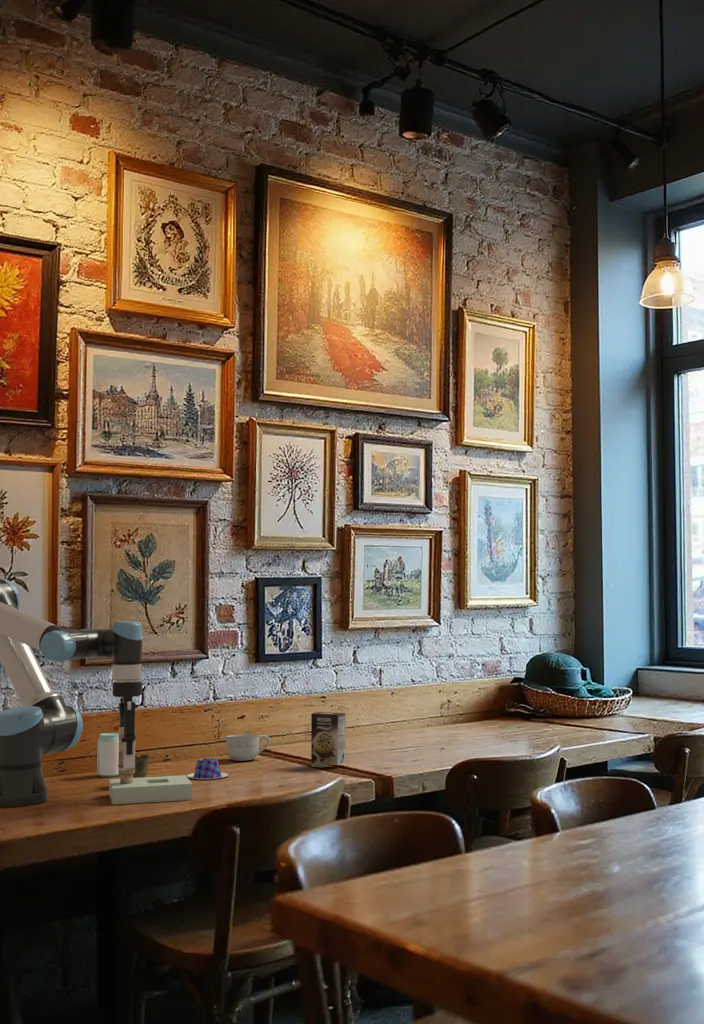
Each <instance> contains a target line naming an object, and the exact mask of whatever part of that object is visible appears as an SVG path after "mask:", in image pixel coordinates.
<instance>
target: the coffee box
mask: <svg viewBox="0 0 704 1024" xmlns="http://www.w3.org/2000/svg"><path fill="white" fill-rule="evenodd" d="M310 720H311V721H310V722H311V723H310V724H311V726H310V727H311V731H310V732H311V734H310V735H311V737H310V738H311V739H310V740H311V741H310V743H311V745H310V746H311V747H310V748H311V749H310V752H311V753H310V755H311V757H310V758H311V761H310V762H311V765H310V766H311V768H324V766H327V765H339V764H341V763H344V762H345V763H346V713H345V712H329V711H328V712H327V711H326V712H325V711H316V712H312V713H311V718H310Z"/></svg>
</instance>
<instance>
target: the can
mask: <svg viewBox="0 0 704 1024" xmlns="http://www.w3.org/2000/svg"><path fill="white" fill-rule="evenodd" d="M96 749H97V750H96V751H97V753H96V754H97V756H96V757H97V759H96V764H97V765H96V774H97V775H98V776H99V777H100V778H101V777H102V778H114V777H118V776H120V774H118V760H119V732H106V733H100V734H99V737H98V739H97V748H96Z"/></svg>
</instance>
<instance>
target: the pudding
mask: <svg viewBox="0 0 704 1024" xmlns="http://www.w3.org/2000/svg"><path fill="white" fill-rule="evenodd" d="M228 776H229V774H228V773H227V772H221V767H220V764H219V760H218V759H217V758H212V757H211V758H209V757H206V758H199V759H198V760H197V761H196V765H195V769H194V773H193V772H192V773H190V774H189V773H188V774H187V775H186V777H187V778H188V779H192V780H193V779H194V780H217V779H222V778H225V777H228Z"/></svg>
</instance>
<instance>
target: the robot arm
mask: <svg viewBox="0 0 704 1024" xmlns="http://www.w3.org/2000/svg"><path fill="white" fill-rule="evenodd" d="M20 601H21V597H20V593H19V590H18V588H17V587H16V586H15V584H14V583H13V582H11V581H10V580H9V579H6V578H2V577H0V663H1V665H2V666H3V668H4V671H5V673H6V674H7V676H8V679H9V680H10V683H11V684H12V685H11V686H13V689H14V691H15V693H16V695H17V697H18V699H19V701H20V703H21V705H22V706H19V707H12V708H7V709H4V710H2V711H0V807H2V808H3V807H24V806H31V805H32V806H33V805H37V804H38V805H39V804H41V803H44V802H45V803H46V802H47V801H48V800H49V789H48V787H47V783H46V780H45V777H44V774H43V770H42V757H43V755H50V754H53V753H61V752H64V751H66V750H69V749H72V748H73V747H74V746H75V745H77V743H78V742H79V741H80V739H81V737H82V732H83V730H84V722H83V721H84V720H83V717H82V714H81V713H80V712H79V709H77V708H76V707H73V706H72V705H67V704H66V701H65V700H64V698H63V695H61V694H60V693H56V692H54V691H53V689H52V687H51V685H50V683H49V681H48V679H47V677H46V675H45V672H44V671H43V670H42V668H41V665H40V663H39V661H38V659H37V657H36V655H35V653H34V651H33V649H34V650H37V651H40V652H41V654H42V655H43V656H44V658H45V659H46V660H49V661H52V662H53V661H55V662H64V661H73V660H82V659H92V658H98V659H100V658H110V659H111V658H112V671H111V672H112V674H111V675H112V679H111V680H113V683H112V696H113V697H116V698H119V701H120V702H119V703H118V711H119V728H121V727H124V738H122V740H121V742H124V750H123V768H135V754H136V739H137V737H136V724H135V723H136V722H135V719H136V703H135V701H133V697H141V696H142V694H143V682H142V681H141V680H142V678H143V672H144V671H145V668H144V667H143V661H142V660H143V640H144V637H143V628H142V627H143V625H142V624H141V622H140V621H137V620H136V621H135V620H134V621H133V620H131V621H125V620H123V621H114V622H113V624H112V628H109V629H107V628H83V629H66V628H64V627H61V626H59V625H56V624H54V623H52V622H49V621H47V620H44V619H42V618H40V617H37V616H35V615H33V614H30V613H28V612H26V611H23V610H20V609H19V608H20ZM32 648H33V649H32ZM134 740H135V741H134Z"/></svg>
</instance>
